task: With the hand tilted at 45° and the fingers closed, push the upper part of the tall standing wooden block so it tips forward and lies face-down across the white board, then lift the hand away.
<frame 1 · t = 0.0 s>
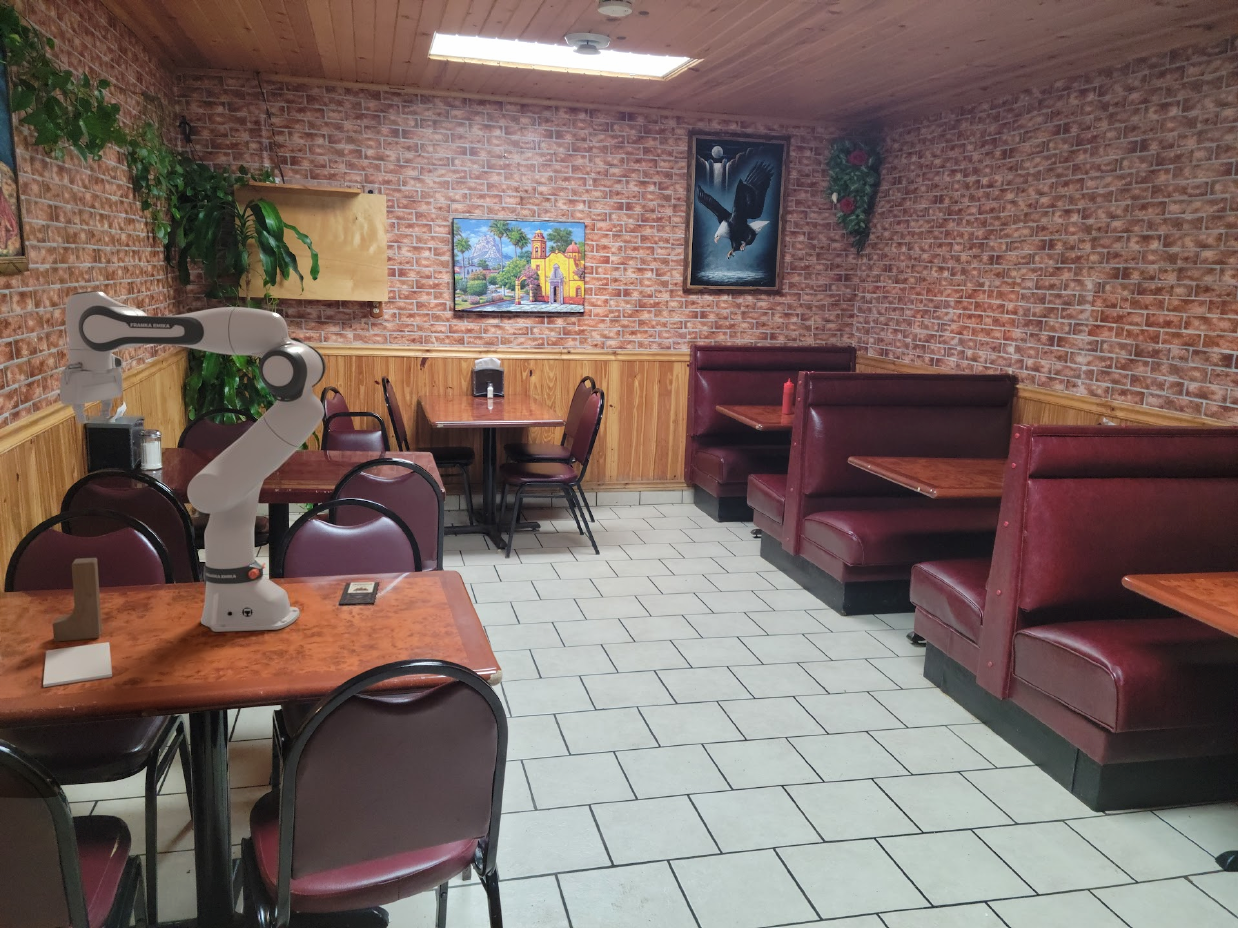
hand: (94, 420, 215), 48 cm above the table, tool pointing down, fingers open, 8 cm apart
white board: (78, 664, 194), on the table
wooden block: (78, 637, 209), on the table
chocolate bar: (359, 596, 246), on the table
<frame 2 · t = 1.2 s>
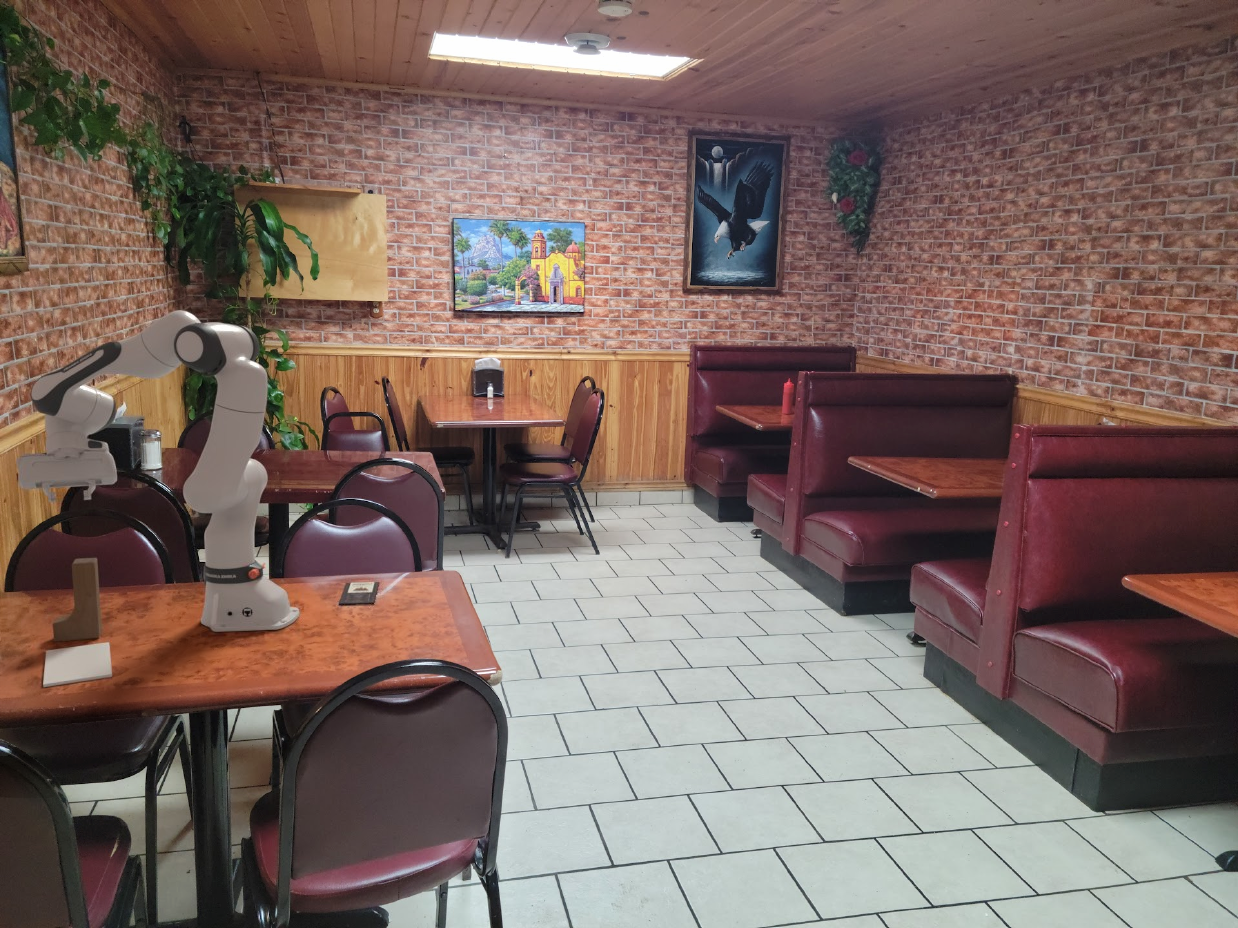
hand: (70, 499, 215), 29 cm above the table, tool tilted 45°, fingers open, 6 cm apart
nothing on the table moved.
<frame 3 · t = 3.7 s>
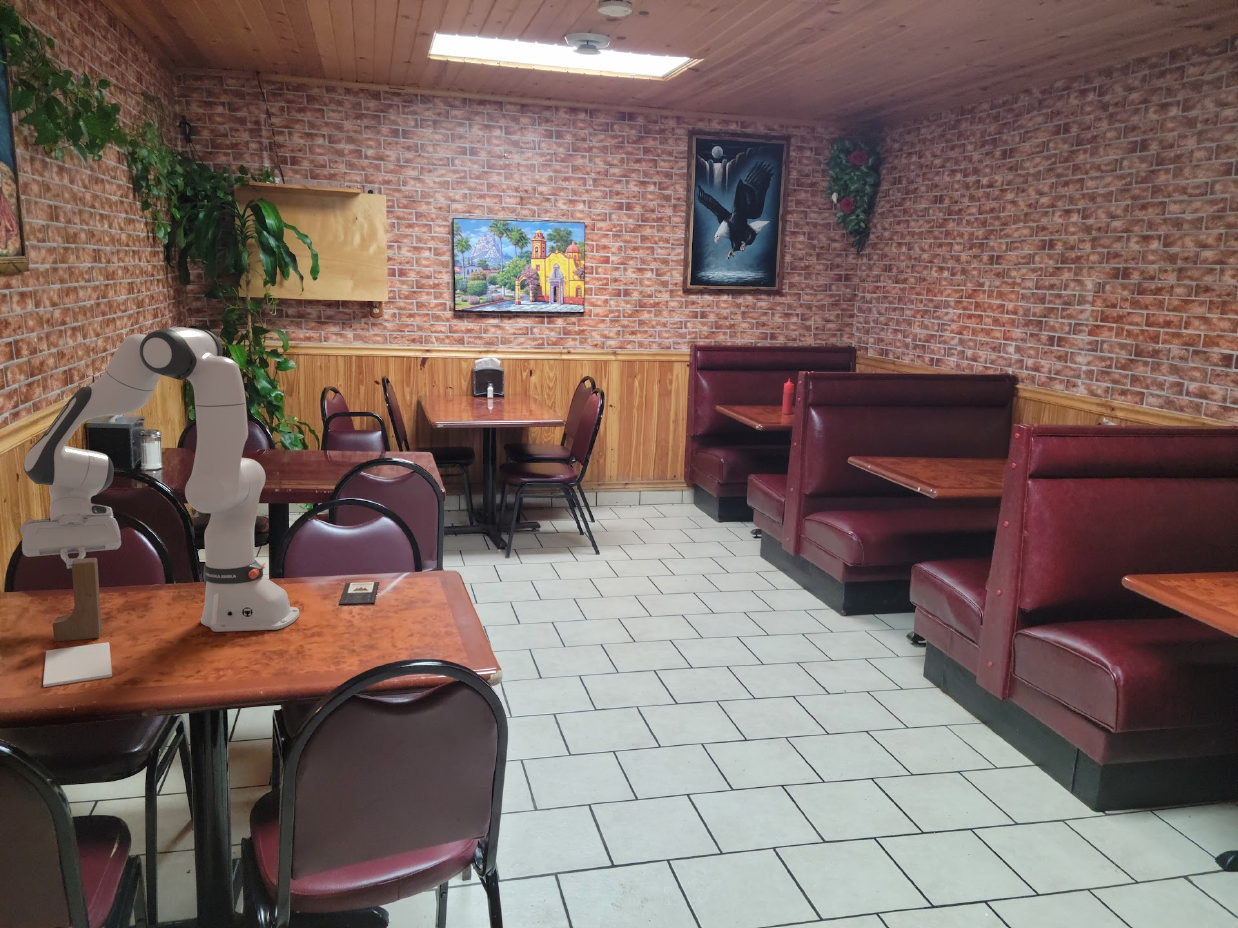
hand: (73, 566, 214), 14 cm above the table, tool tilted 45°, fingers closed
nothing on the table moved.
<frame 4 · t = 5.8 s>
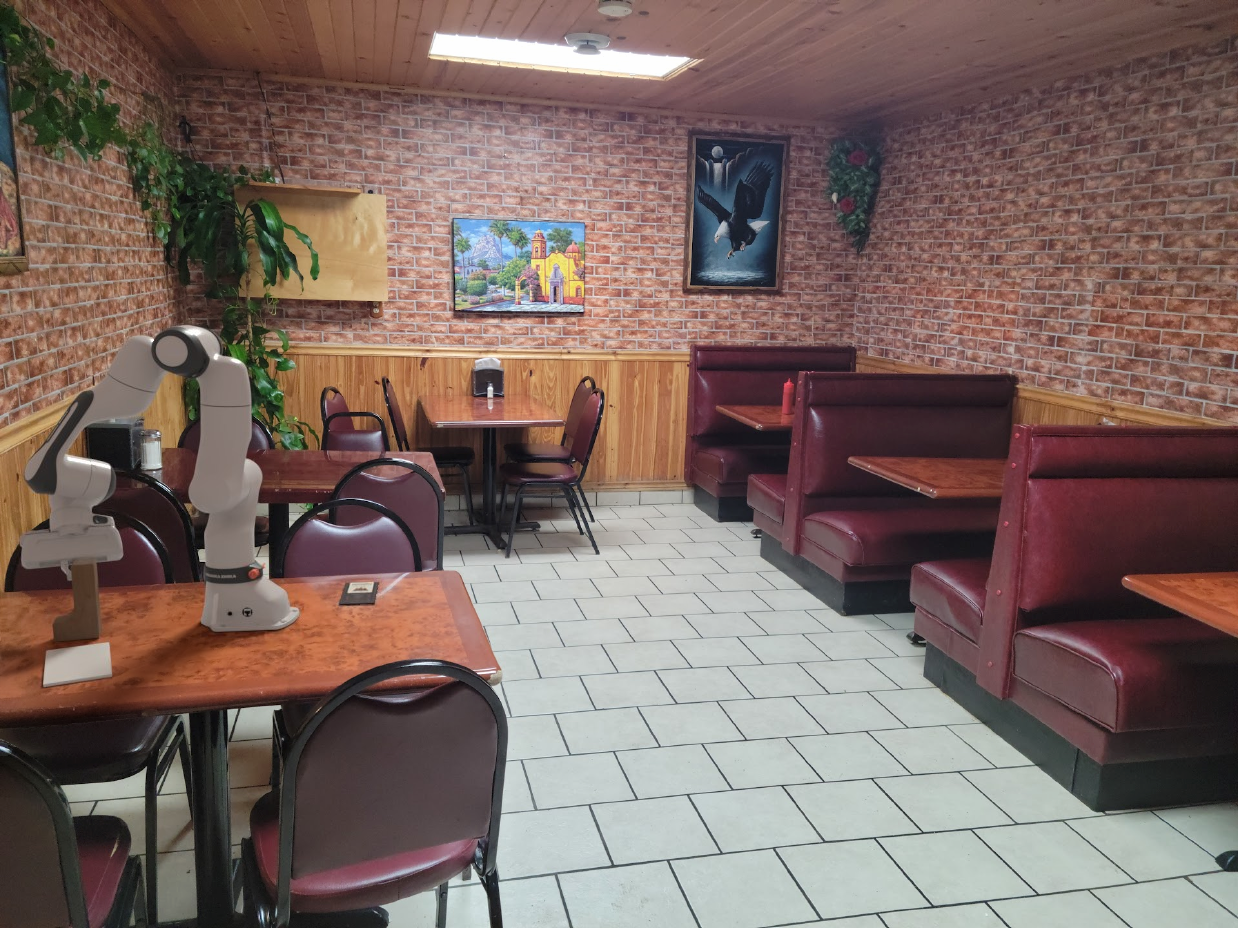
hand: (74, 578, 208), 13 cm above the table, tool tilted 45°, fingers closed
wooden block: (78, 637, 209), on the table, touching gripper
everything else where it was.
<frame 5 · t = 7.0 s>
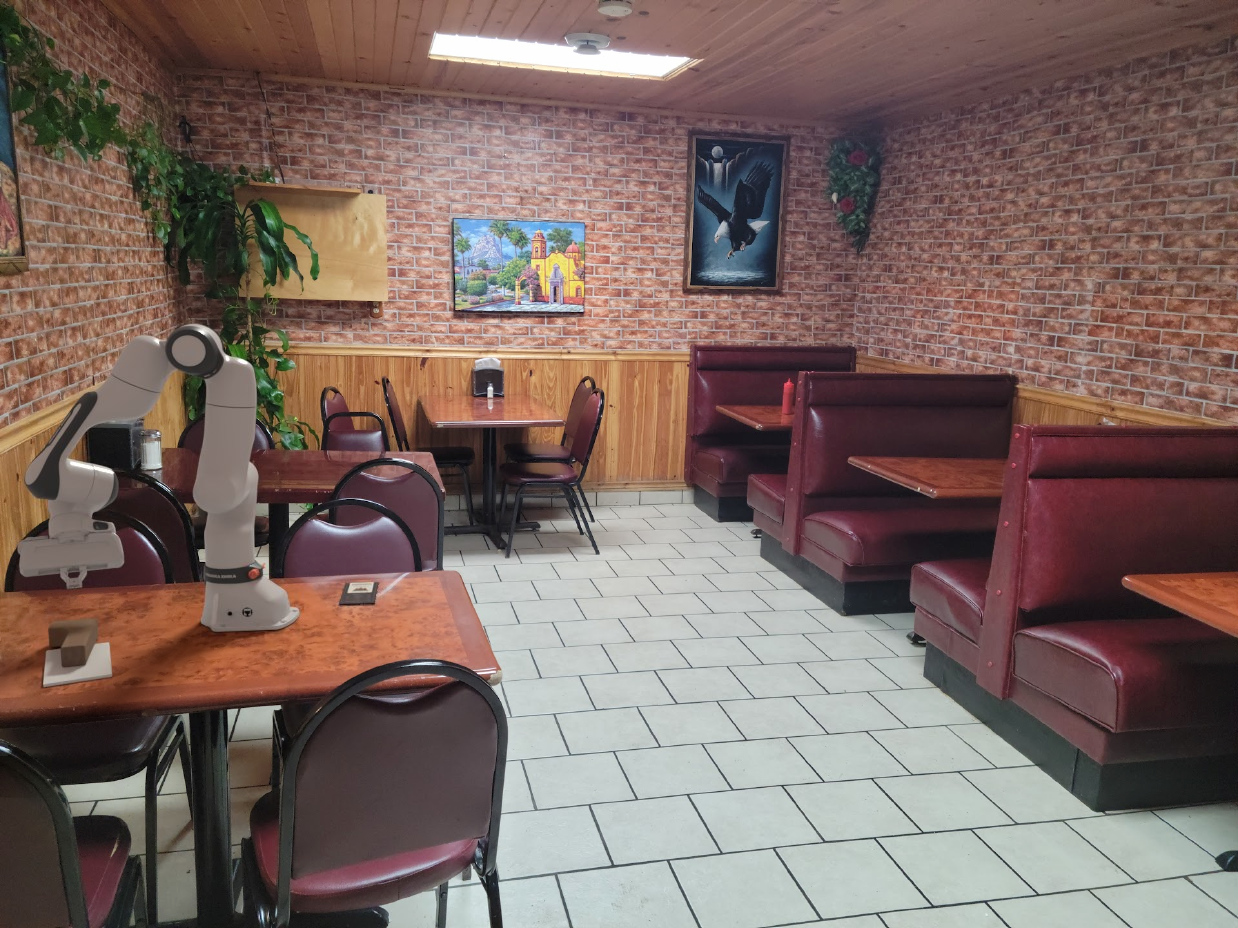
hand: (74, 586, 202), 13 cm above the table, tool tilted 45°, fingers closed
wooden block: (75, 628, 206), point 3 cm above the table, touching white board
everything else where it was.
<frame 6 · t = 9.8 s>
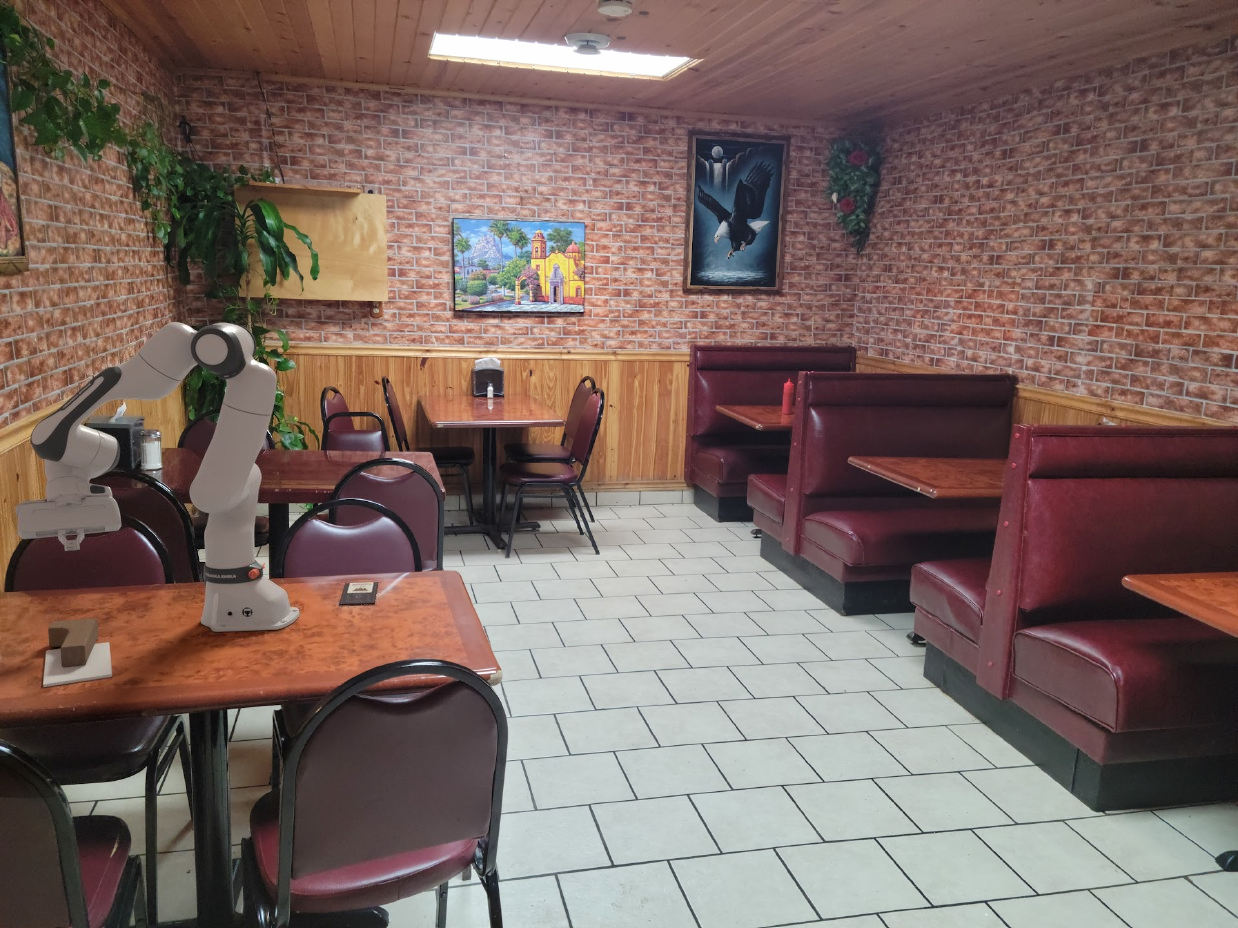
hand: (72, 548, 205), 21 cm above the table, tool tilted 45°, fingers closed
nothing on the table moved.
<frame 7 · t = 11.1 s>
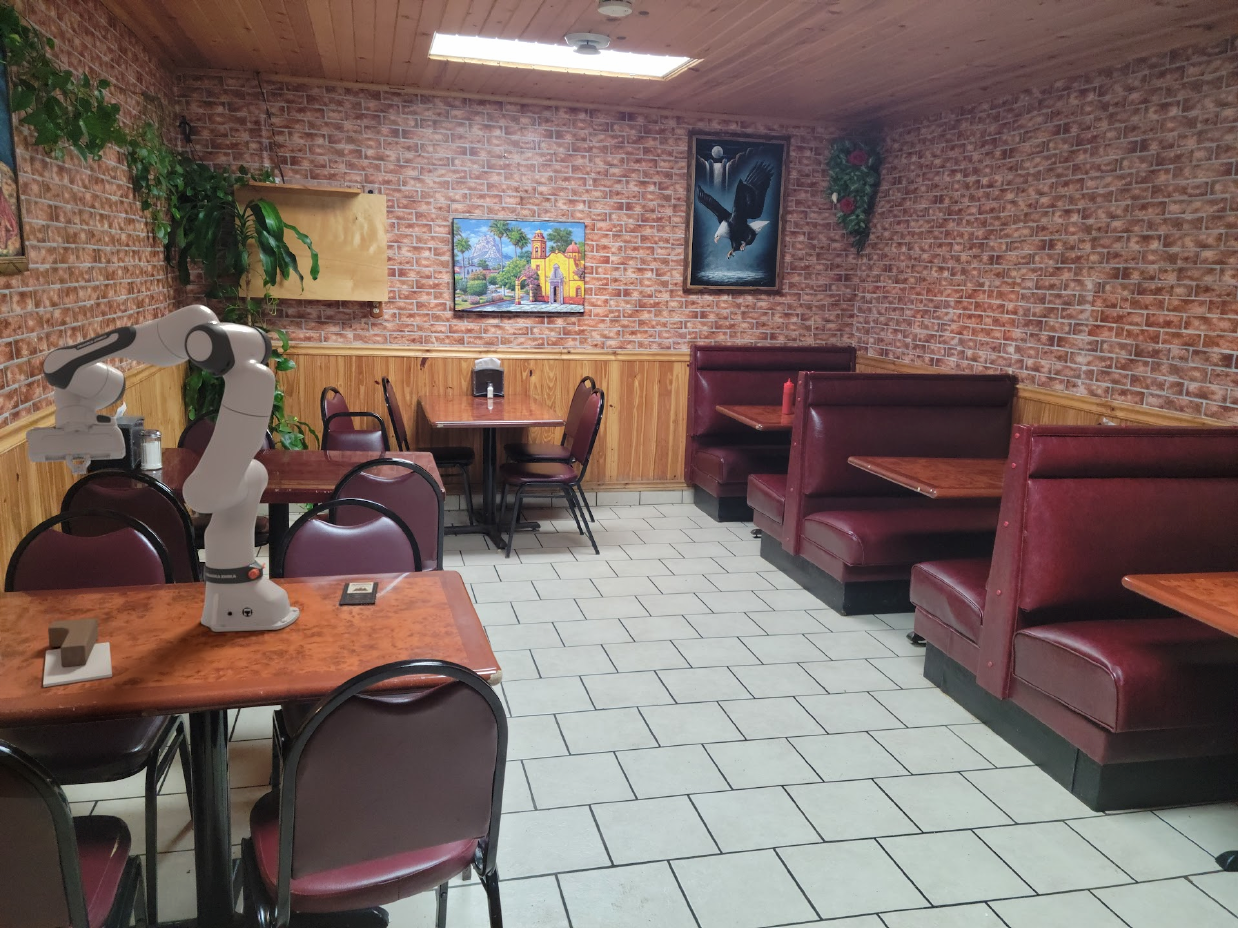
hand: (78, 472, 217), 35 cm above the table, tool tilted 45°, fingers closed
nothing on the table moved.
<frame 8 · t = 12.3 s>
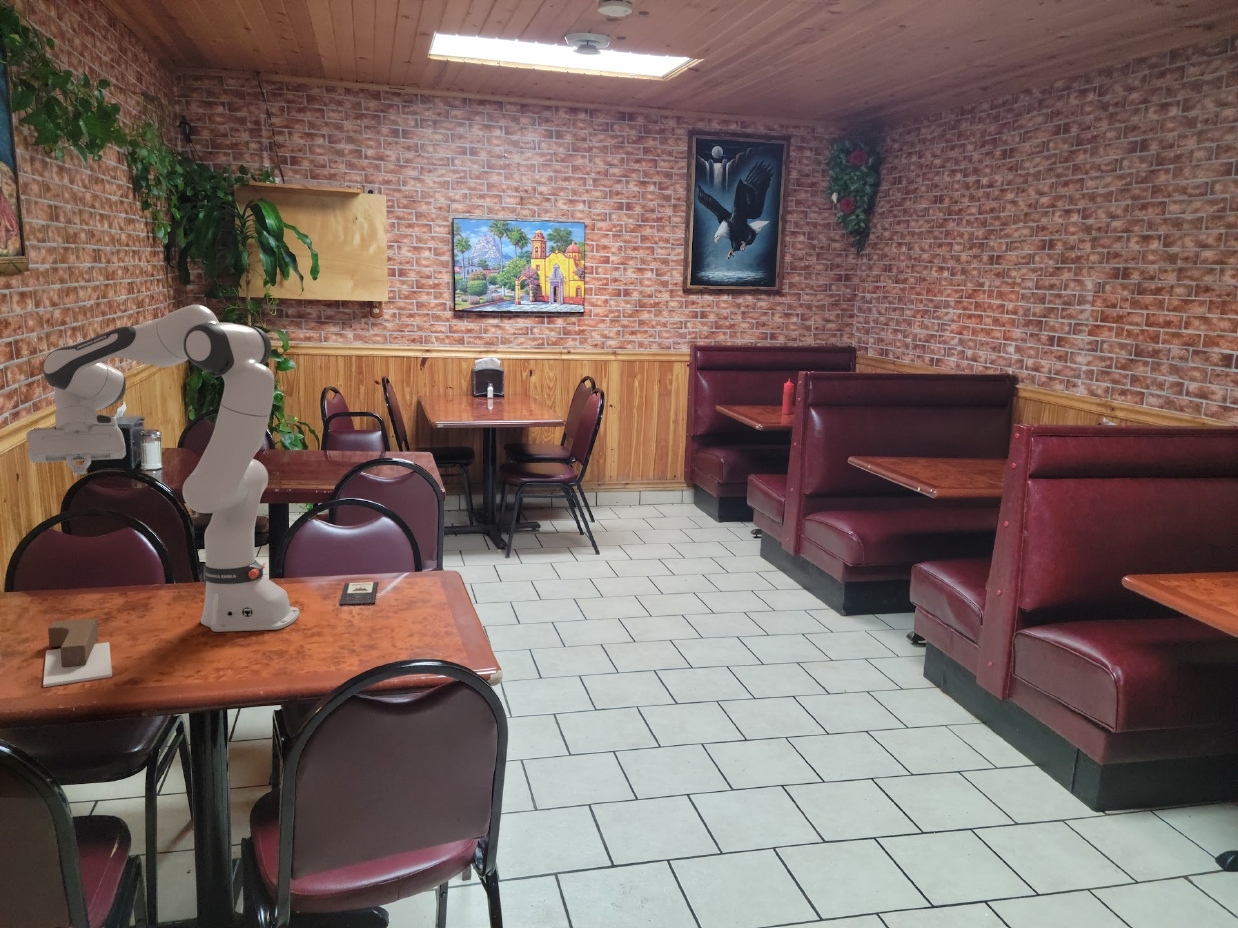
hand: (79, 472, 217), 35 cm above the table, tool tilted 45°, fingers closed
nothing on the table moved.
at the end: wooden block tilted 90°; wooden block touching white board; wooden block point 2.9 cm above the table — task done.
